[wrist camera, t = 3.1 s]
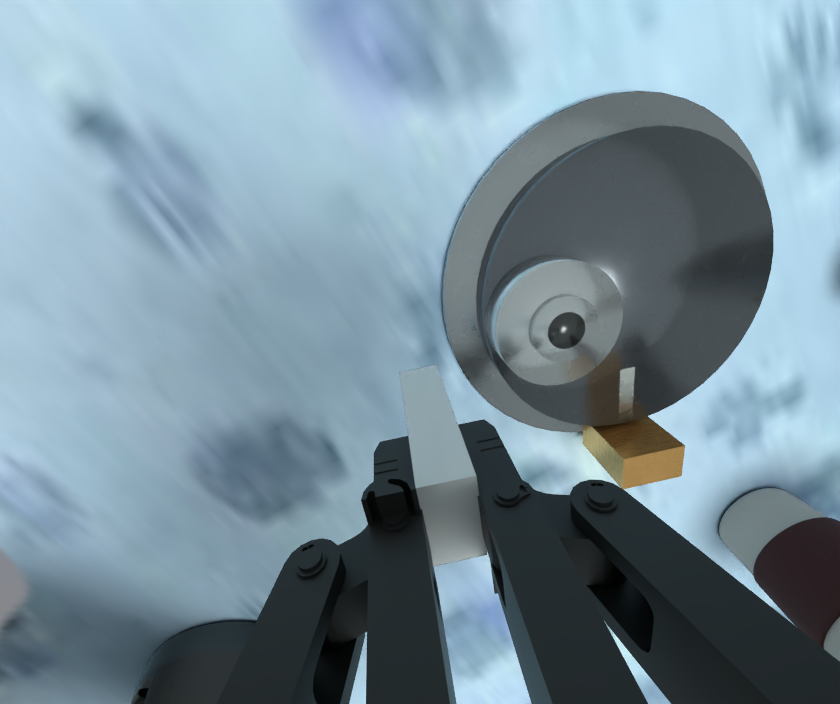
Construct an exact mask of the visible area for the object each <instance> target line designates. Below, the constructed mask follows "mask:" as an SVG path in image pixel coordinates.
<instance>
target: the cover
mask: <svg viewBox="0 0 840 704" xmlns="http://www.w3.org/2000/svg"><path fill="white" fill-rule="evenodd" d="M622 319H623V305H622V299H621V296H620V293H619V290H618V288H617V286H616V284H615V283H614V281H613V280H612V279H611V278H610V277H609V276H608V275H607V274H606V273H605V272H604V271H603V270H601V269H600V268H598V267H596V266H594V265H592V264H589V263H585V262H582V261H579V260H575V259H572V258H569V257H565V256H561V255H540V256H536V257H532V258H530V259H527V260H525V261H523V262H521V263H519V264H517V265H516V266H515V267H513V268H512V269H511V270H509V271H508V272H507V273H506V274H505V275H504V276H503V277H502V278H501V280H500V281H499V282H498V284H497V285H496V287H495V288H494V290H493V292H492V294H491V296H490V298H489V301H488V304H487V309H486V315H485V326H486V332H487V336H488V339H489V341H490V343H491V345H492V347H493V348H494V350H495V351H496V352H497V354H498V355H499V356H500V357H501V358H502V360H503V361H504V362H505V363H506V364H507V366H508V367H509V368H510V369H511V370H512V371H513V372H514V373H515V374H516V375H518V376H519V377H520V378H522V379H524V380H526V381H528V382H531V383H534V384H539V385H560V384H565V383H568V382H571V381H574V380H577V379H579V378H581V377H583V376H584V375H586V374H588V373H589V372H591V371H592V370H593V369H594V368H596V367H597V366H598V365H599V364H600V363H601V362H602V361H603V360H604V359H605V358H606V356H607V355H608V354H609V353H610V351H611V349H612V348H613V346H614V344H615V342H616V340H617V338H618V336H619V333H620V330H621V325H622Z"/></svg>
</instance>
